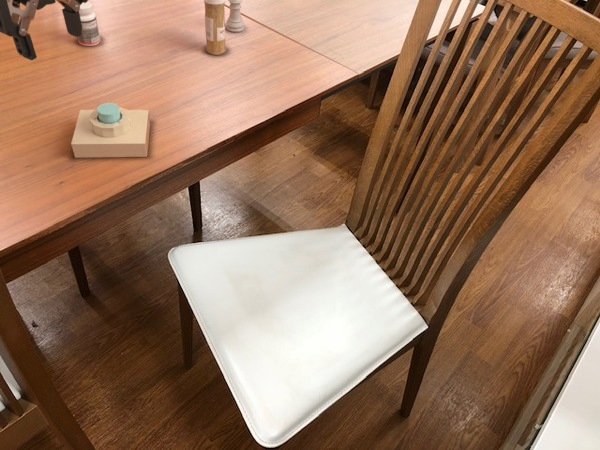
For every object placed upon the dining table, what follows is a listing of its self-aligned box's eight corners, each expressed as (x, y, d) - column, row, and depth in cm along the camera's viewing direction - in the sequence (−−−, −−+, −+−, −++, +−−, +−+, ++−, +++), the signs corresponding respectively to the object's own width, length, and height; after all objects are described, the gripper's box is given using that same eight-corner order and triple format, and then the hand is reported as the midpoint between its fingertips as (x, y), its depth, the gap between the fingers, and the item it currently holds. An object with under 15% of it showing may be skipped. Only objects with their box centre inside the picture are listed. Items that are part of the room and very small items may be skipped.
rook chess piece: (227, 33, 123) (227, 0, 117) (224, 24, 126) (224, -8, 120) (245, 33, 124) (246, 0, 118) (242, 24, 127) (243, -8, 121)
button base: (74, 157, 87) (68, 134, 83) (83, 123, 94) (77, 100, 90) (147, 156, 89) (143, 133, 85) (150, 123, 96) (147, 100, 92)
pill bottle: (78, 36, 115) (69, -1, 109) (100, 35, 116) (92, -1, 110) (78, 47, 112) (69, 9, 106) (101, 45, 113) (93, 8, 107)
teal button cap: (97, 124, 86) (95, 114, 85) (100, 112, 89) (98, 102, 87) (119, 124, 87) (117, 114, 86) (121, 112, 89) (119, 102, 88)
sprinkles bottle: (227, 55, 116) (226, -5, 106) (207, 56, 114) (205, -4, 105) (224, 45, 119) (223, -14, 109) (204, 46, 117) (201, -14, 108)
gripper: (41, -98, 67) (70, 21, 79) (-56, -72, 58) (-8, 57, 70) (85, -84, 65) (107, 35, 77) (-9, -56, 56) (33, 75, 68)
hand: (53, 46), depth 74 cm, fingers open, 8 cm apart
